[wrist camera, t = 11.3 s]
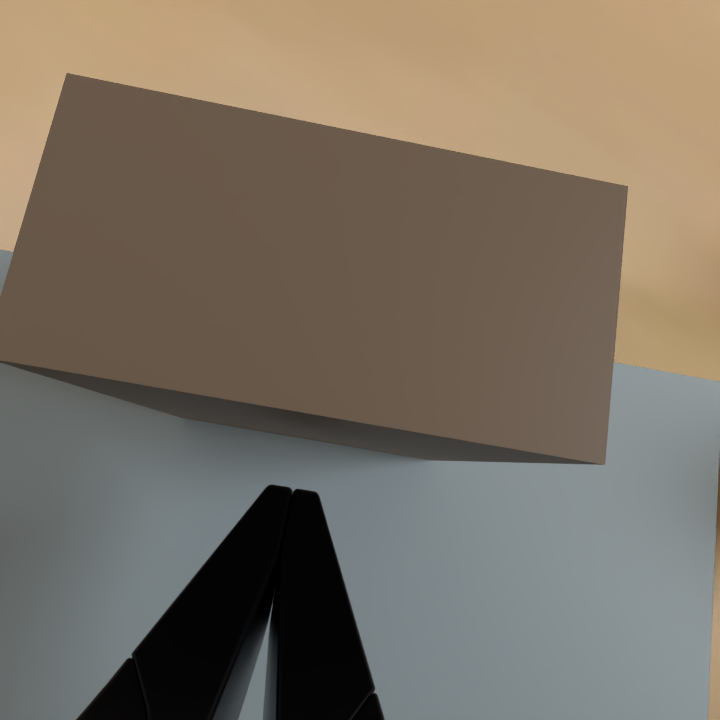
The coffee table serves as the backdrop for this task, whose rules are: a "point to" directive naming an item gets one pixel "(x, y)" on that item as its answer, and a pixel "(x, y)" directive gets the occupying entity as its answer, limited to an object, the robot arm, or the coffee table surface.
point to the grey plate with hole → (344, 413)
